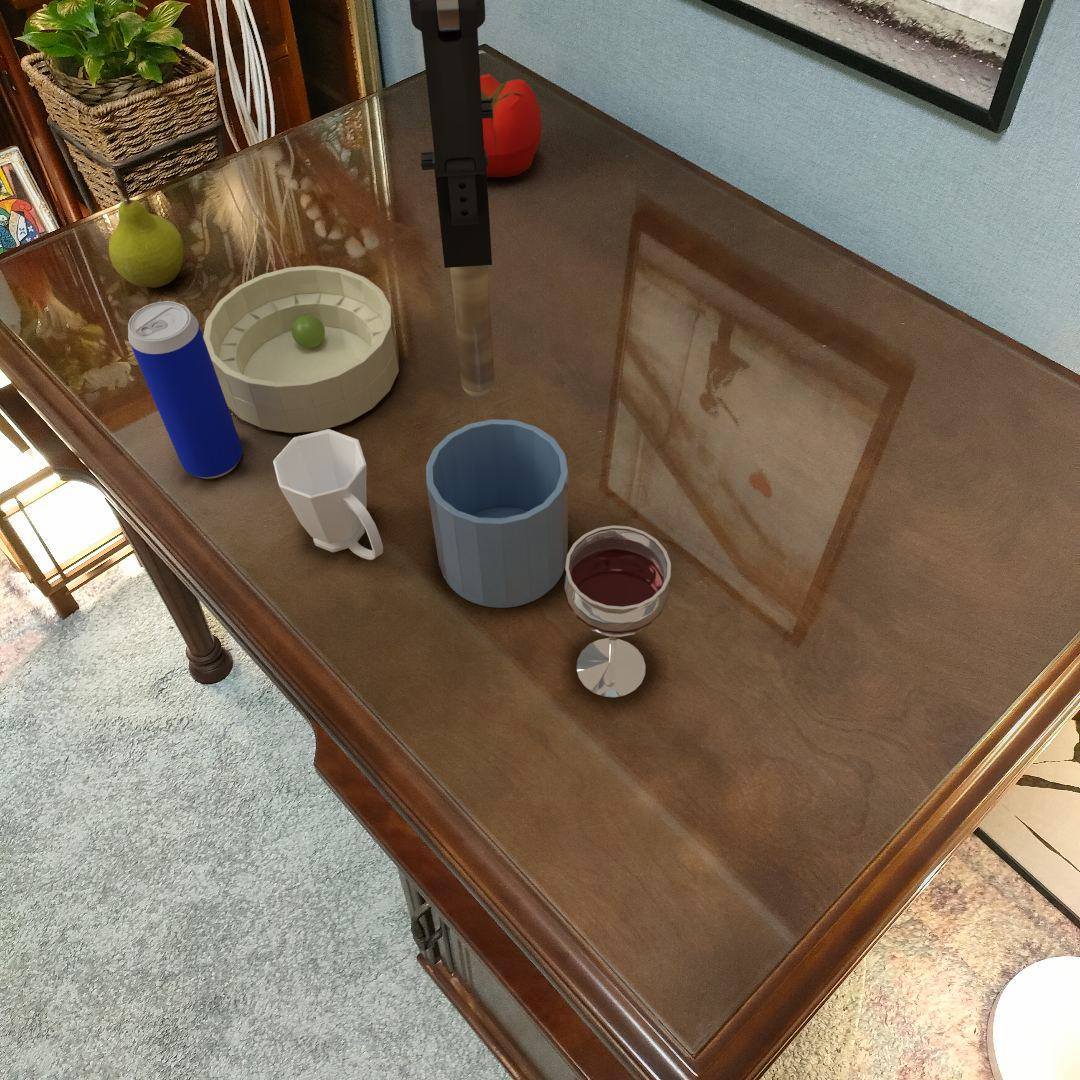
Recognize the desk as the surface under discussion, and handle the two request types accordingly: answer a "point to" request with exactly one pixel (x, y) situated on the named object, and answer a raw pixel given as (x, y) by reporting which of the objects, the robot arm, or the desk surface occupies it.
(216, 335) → the bowl
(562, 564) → the utensil pot
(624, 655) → the wineglass
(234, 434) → the beverage can
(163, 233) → the fruit
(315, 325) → the olive
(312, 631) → the desk surface
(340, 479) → the cup
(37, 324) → the desk surface
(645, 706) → the desk surface
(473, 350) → the stick
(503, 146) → the tomato
